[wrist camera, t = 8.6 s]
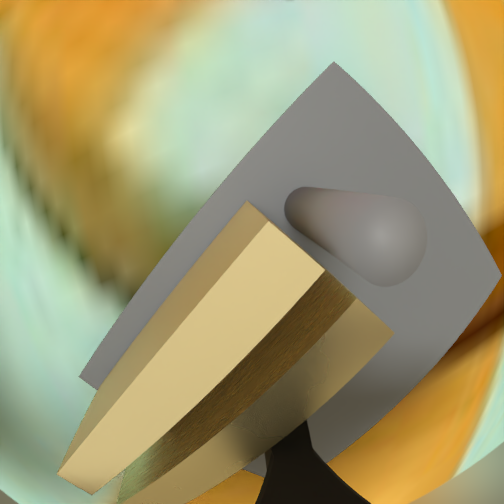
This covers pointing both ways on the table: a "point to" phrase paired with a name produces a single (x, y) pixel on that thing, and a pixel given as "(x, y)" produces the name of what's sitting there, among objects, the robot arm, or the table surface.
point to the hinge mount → (291, 279)
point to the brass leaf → (261, 396)
